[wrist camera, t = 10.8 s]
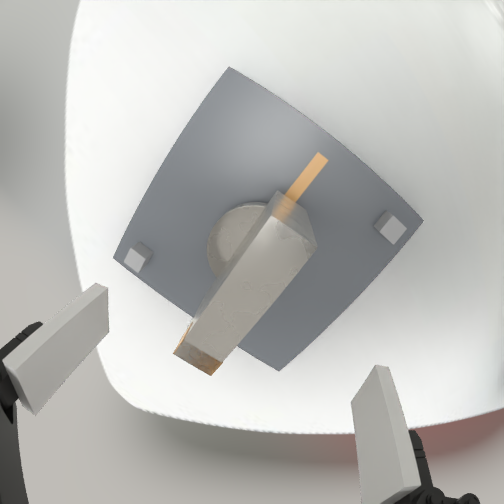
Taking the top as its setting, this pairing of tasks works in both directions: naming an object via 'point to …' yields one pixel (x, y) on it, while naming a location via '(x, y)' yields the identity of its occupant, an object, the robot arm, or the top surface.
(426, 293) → the top surface
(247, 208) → the grey block knob
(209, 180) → the post plate
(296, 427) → the top surface
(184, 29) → the top surface
